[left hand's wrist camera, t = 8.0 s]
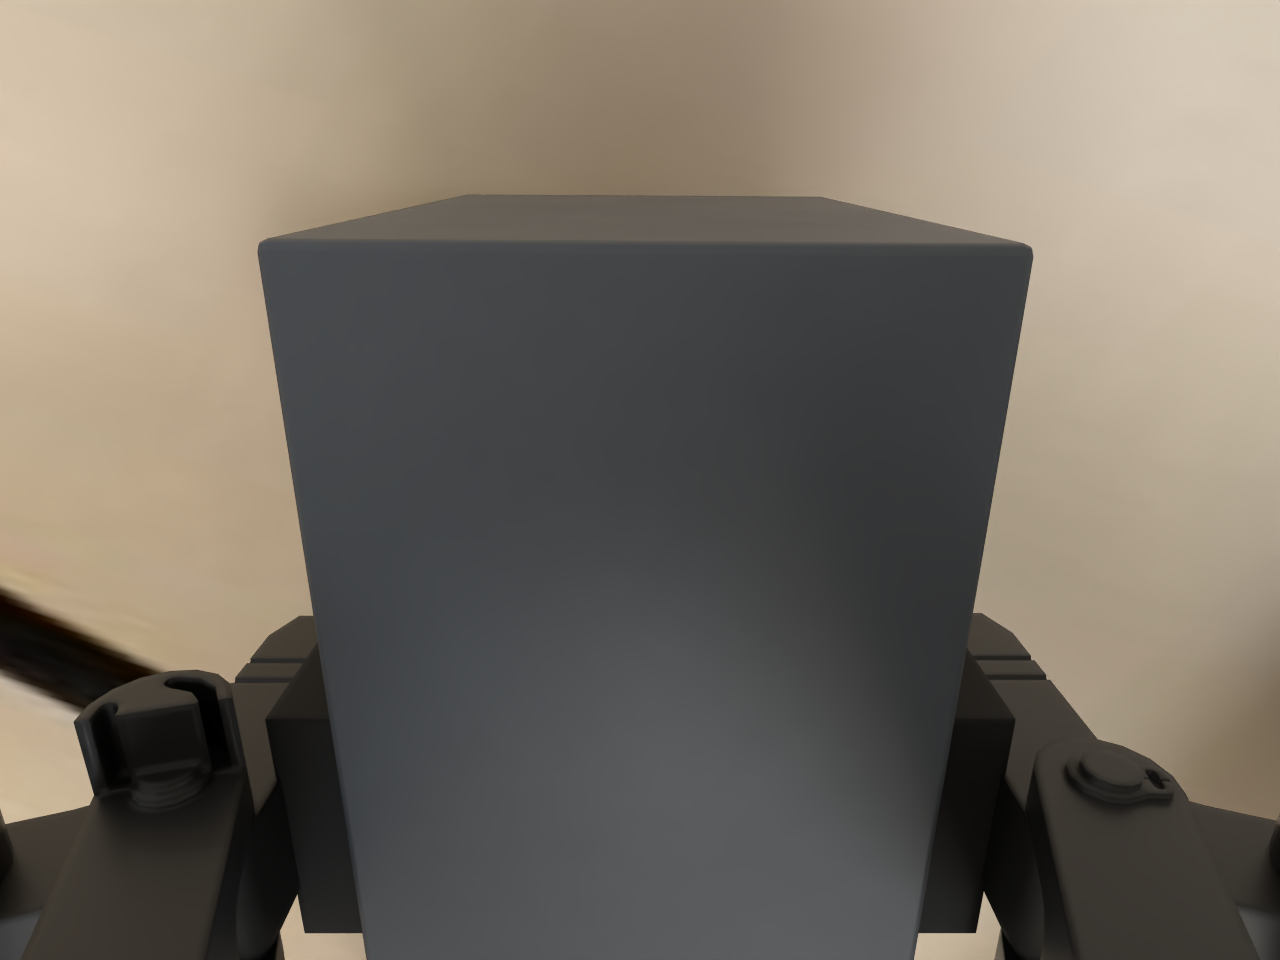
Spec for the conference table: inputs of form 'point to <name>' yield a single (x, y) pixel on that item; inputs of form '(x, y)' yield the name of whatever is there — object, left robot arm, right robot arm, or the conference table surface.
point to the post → (642, 561)
